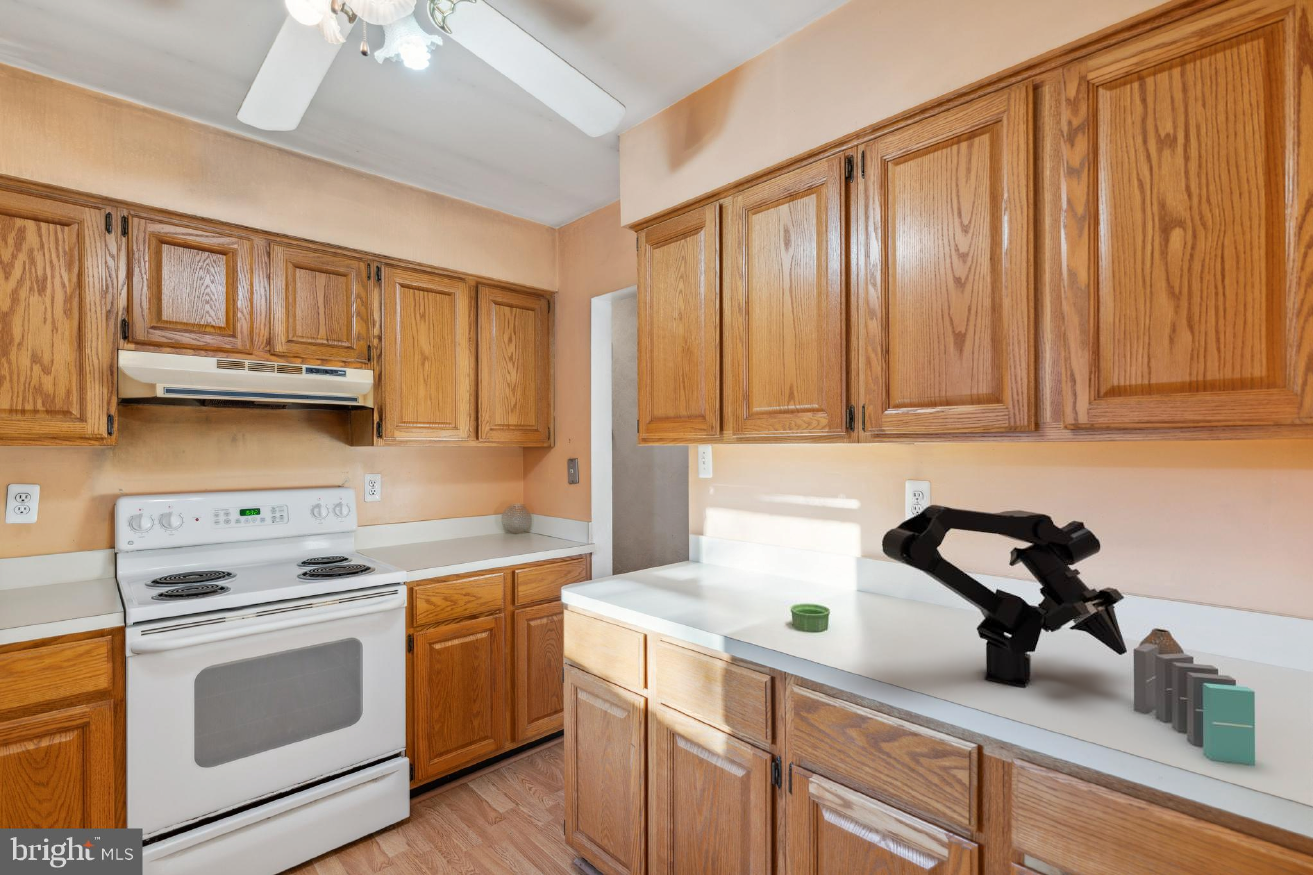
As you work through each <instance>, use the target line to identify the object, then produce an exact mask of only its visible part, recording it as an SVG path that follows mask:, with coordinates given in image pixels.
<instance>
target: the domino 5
mask: <svg viewBox="0 0 1313 875" xmlns="http://www.w3.org/2000/svg"><path fill="white" fill-rule="evenodd" d="M1255 692H1256V691H1254V690H1252V689H1251V688H1249V687H1248V686H1241V685H1236V686H1231V685H1219V684H1207V683H1203V747H1202V750H1203V751H1202V754H1203V755H1204V756H1205V757H1206V758H1207V759H1209V761H1215V762H1224V763H1231V764H1232V763H1233V764H1240V763H1241V765H1250V766H1255V765H1256V735H1255V734H1256V725H1255V724H1256V721H1255V720H1256V713H1255V712H1256V711H1255V710H1256V708H1255V707H1256V706H1255V705H1256V704H1255V702H1256V698H1255V696H1256V694H1255Z"/></svg>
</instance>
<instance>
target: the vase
mask: <svg viewBox="0 0 1313 875" xmlns="http://www.w3.org/2000/svg"><path fill="white" fill-rule="evenodd" d="M1146 643H1148V644H1153V645H1157V646H1158V655H1163V654H1179V653H1184V654H1185V652H1184V649H1183V648H1182V646H1181V645H1180V644H1179V642H1178V641H1176V639H1175V638H1174V637H1173V636H1172V634H1171V632H1170V631H1169V630H1168V629H1167V630H1166V629H1162V628H1157V627H1156V628H1152V630H1151V632H1150V633H1149V634H1148V635H1146V637H1144V638H1143V639H1142V640H1141V642H1140V643H1139V645H1138V647H1139V646H1141V645H1143V644H1146Z"/></svg>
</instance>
